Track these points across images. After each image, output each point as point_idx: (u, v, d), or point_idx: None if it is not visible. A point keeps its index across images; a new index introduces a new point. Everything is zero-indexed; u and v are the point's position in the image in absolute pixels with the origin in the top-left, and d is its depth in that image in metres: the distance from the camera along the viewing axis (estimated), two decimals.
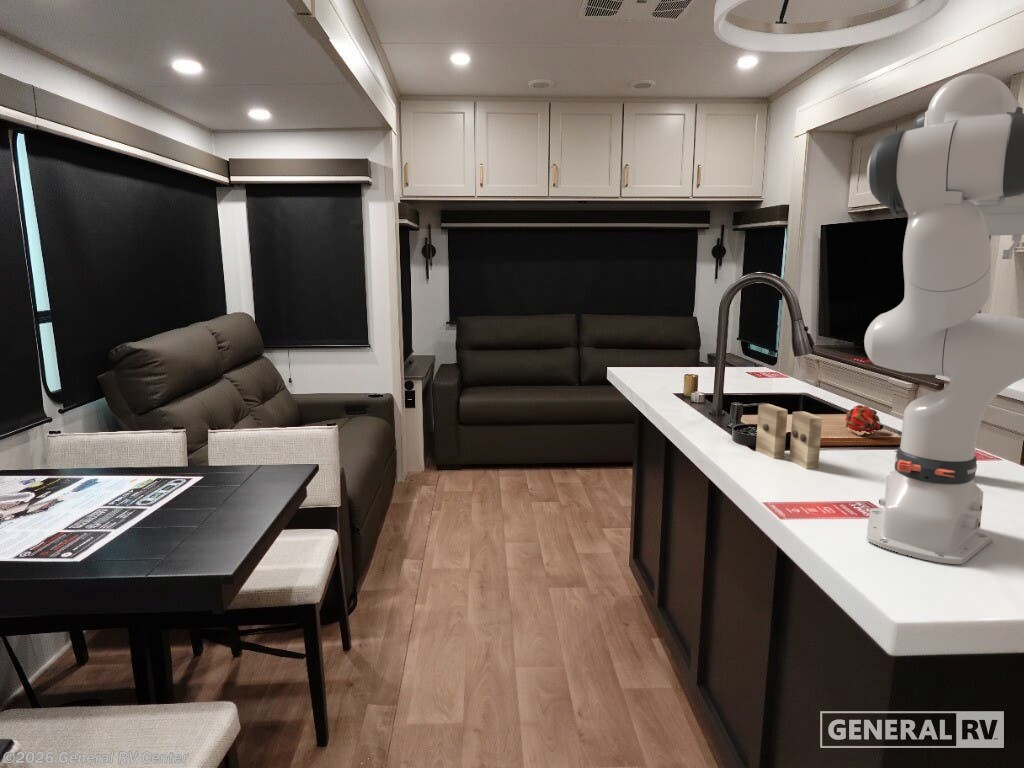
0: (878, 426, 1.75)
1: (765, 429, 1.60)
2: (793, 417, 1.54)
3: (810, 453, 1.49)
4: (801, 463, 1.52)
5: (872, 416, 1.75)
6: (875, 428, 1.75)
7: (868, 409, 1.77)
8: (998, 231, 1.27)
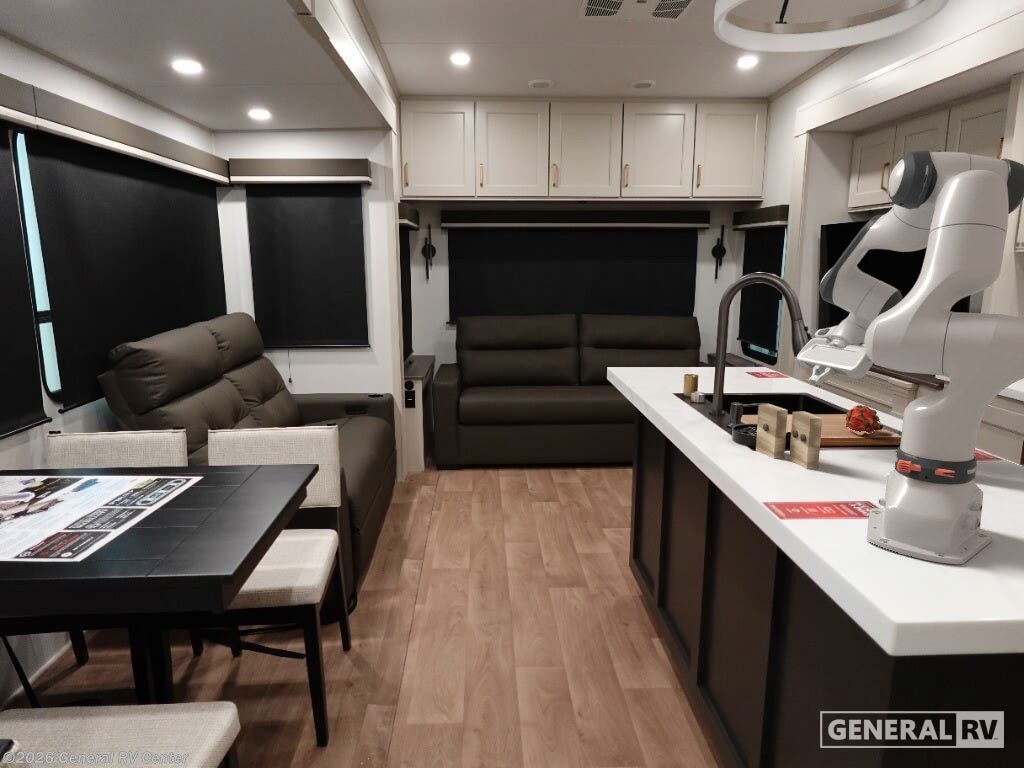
0: (878, 426, 1.75)
1: (765, 429, 1.60)
2: (793, 417, 1.54)
3: (810, 453, 1.49)
4: (801, 463, 1.52)
5: (872, 416, 1.75)
6: (875, 428, 1.75)
7: (868, 409, 1.77)
8: None
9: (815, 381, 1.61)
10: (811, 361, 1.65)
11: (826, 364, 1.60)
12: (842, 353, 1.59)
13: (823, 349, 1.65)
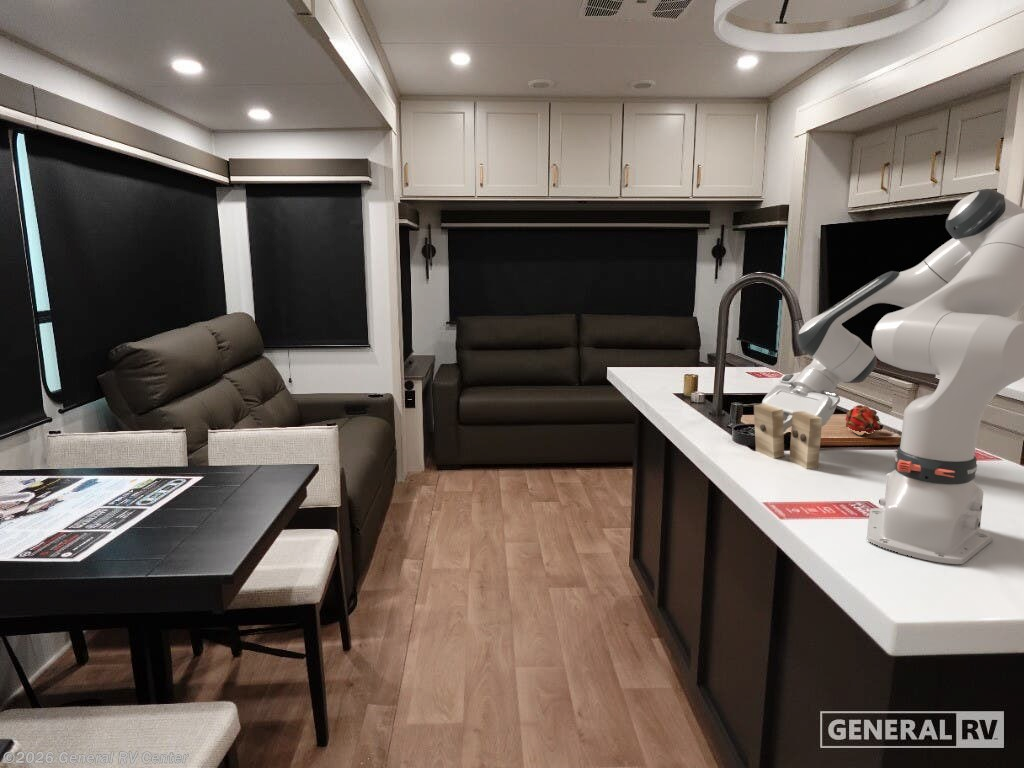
0: (878, 426, 1.75)
1: (762, 430, 1.60)
2: (793, 417, 1.54)
3: (810, 453, 1.49)
4: (801, 463, 1.52)
5: (872, 416, 1.75)
6: (875, 428, 1.75)
7: (868, 409, 1.77)
8: None
9: None
10: None
11: (789, 411, 1.60)
12: (804, 400, 1.58)
13: (787, 395, 1.64)
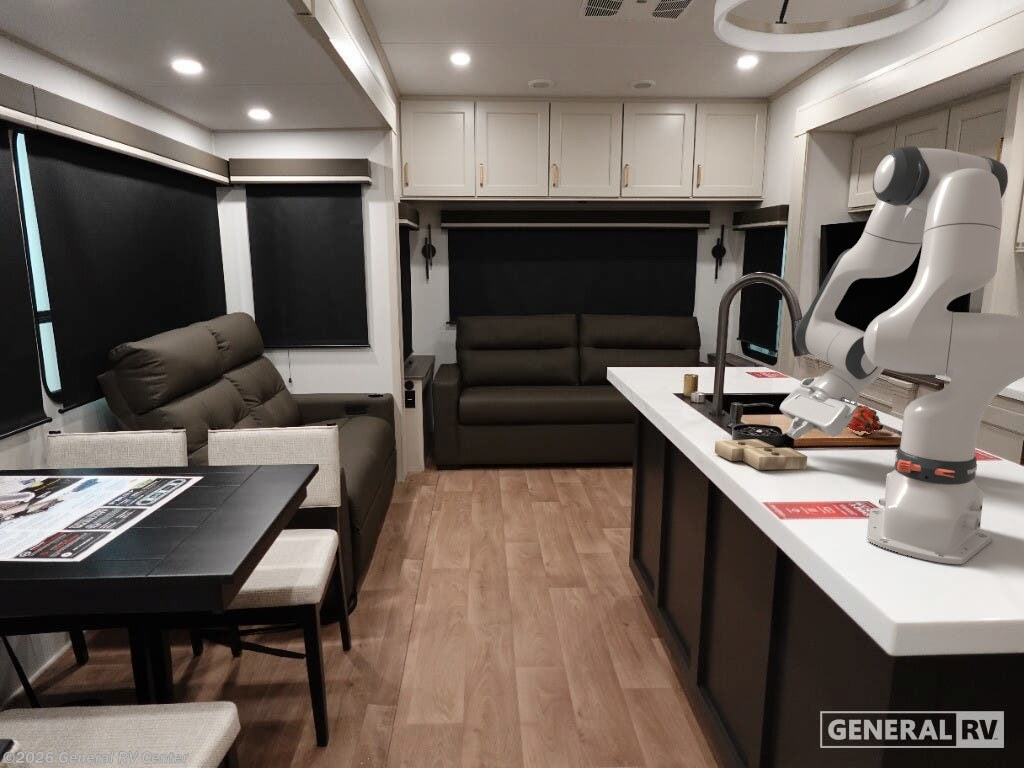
0: (878, 426, 1.75)
1: None
2: None
3: (791, 466, 1.49)
4: None
5: (872, 416, 1.75)
6: (875, 428, 1.75)
7: (868, 409, 1.77)
8: None
9: (791, 435, 1.51)
10: (791, 412, 1.55)
11: (804, 417, 1.50)
12: (821, 407, 1.49)
13: (805, 400, 1.55)
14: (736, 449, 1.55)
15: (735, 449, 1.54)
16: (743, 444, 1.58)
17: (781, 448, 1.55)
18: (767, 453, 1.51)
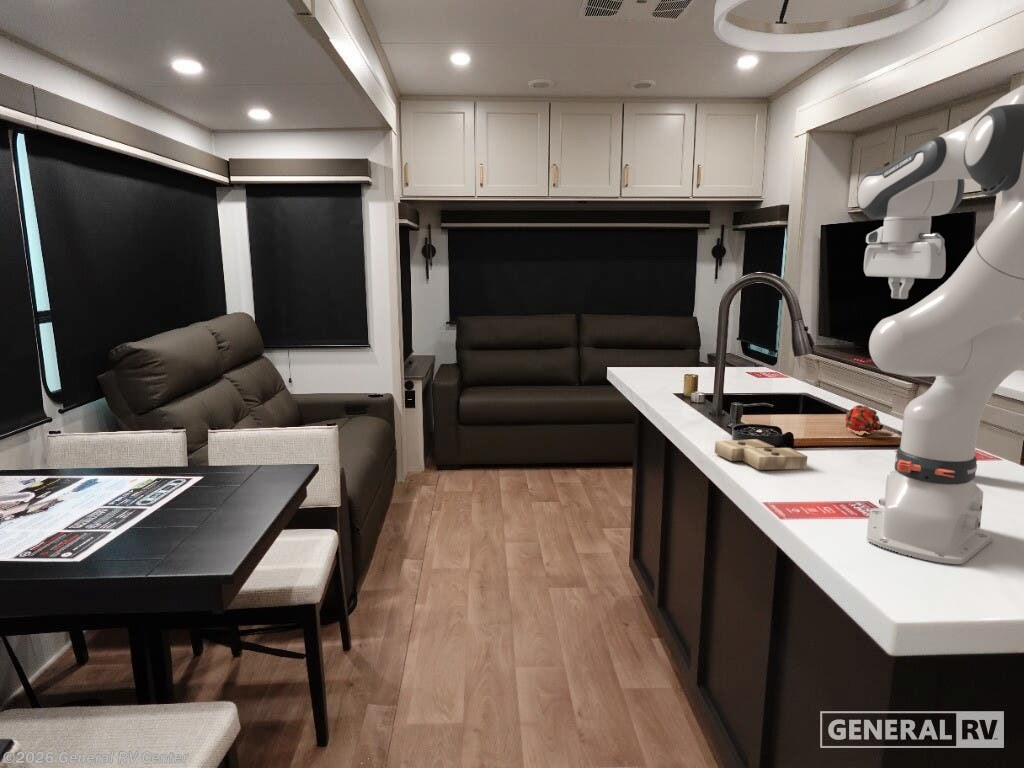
0: (878, 426, 1.75)
1: None
2: None
3: (791, 466, 1.49)
4: None
5: (872, 416, 1.75)
6: (875, 428, 1.75)
7: (868, 409, 1.77)
8: None
9: (899, 298, 1.41)
10: (881, 275, 1.45)
11: (898, 276, 1.40)
12: (907, 256, 1.38)
13: (885, 256, 1.44)
14: (736, 449, 1.55)
15: (735, 449, 1.54)
16: (743, 444, 1.58)
17: (781, 448, 1.55)
18: (767, 453, 1.51)
